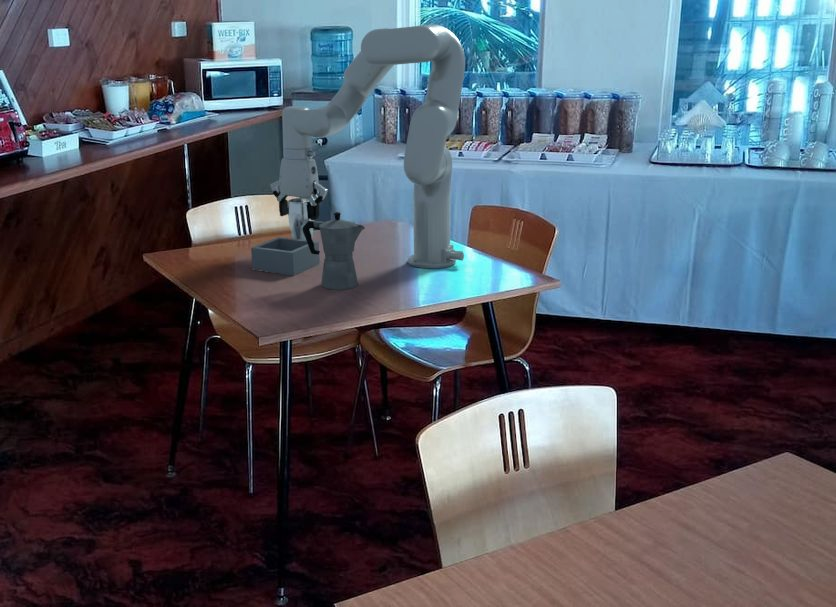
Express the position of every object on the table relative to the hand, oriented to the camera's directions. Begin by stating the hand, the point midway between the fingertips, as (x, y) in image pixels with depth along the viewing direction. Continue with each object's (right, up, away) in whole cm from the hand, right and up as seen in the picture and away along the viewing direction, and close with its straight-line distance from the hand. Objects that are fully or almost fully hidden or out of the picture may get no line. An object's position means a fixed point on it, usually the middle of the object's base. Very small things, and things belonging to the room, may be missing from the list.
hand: (299, 217), depth 248 cm
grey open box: (-2, -14, -9) cm, 17 cm away
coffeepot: (+12, -19, -25) cm, 33 cm away
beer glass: (+1, -10, +3) cm, 11 cm away
